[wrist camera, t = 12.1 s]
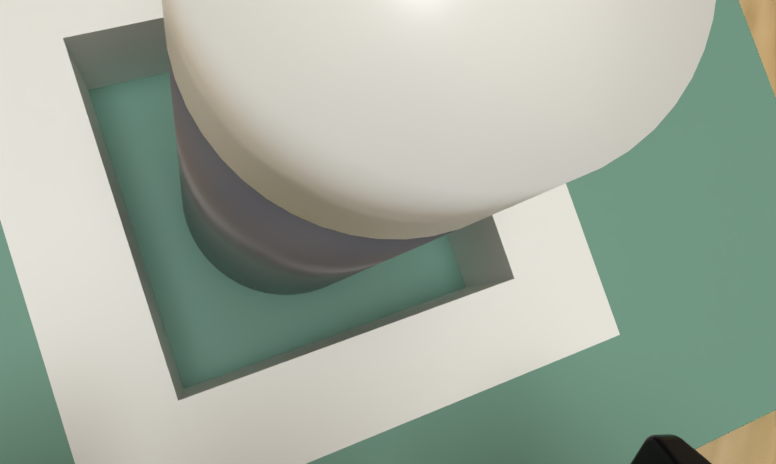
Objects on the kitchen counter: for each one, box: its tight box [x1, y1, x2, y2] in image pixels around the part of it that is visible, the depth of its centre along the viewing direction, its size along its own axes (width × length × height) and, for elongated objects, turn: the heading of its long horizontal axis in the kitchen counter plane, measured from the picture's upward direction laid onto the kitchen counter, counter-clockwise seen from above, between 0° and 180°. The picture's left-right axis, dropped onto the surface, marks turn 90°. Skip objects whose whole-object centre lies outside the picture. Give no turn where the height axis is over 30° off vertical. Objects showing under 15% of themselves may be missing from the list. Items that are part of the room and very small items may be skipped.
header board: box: [0, 0, 776, 464], centre depth 17 cm, size 16×24×4 cm, turn 109°
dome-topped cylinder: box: [162, 0, 716, 295], centre depth 11 cm, size 5×5×12 cm
